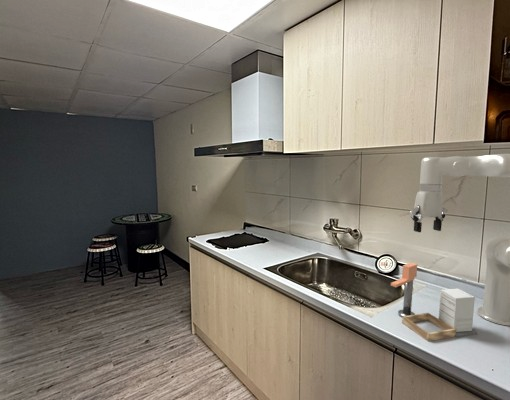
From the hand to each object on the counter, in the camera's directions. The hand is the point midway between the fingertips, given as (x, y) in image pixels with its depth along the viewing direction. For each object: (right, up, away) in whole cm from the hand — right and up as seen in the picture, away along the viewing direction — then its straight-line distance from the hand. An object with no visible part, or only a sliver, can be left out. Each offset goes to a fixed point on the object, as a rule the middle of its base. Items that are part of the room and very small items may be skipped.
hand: (427, 230), depth 116 cm
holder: (-7, -34, -12) cm, 37 cm away
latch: (-13, -19, -7) cm, 24 cm away
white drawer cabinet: (+3, -33, -12) cm, 35 cm away
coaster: (+3, -34, -12) cm, 36 cm away
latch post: (-10, -33, -3) cm, 34 cm away
